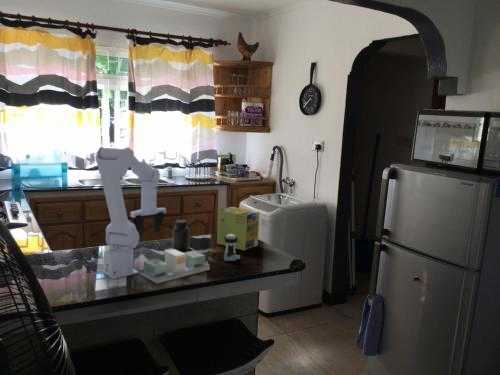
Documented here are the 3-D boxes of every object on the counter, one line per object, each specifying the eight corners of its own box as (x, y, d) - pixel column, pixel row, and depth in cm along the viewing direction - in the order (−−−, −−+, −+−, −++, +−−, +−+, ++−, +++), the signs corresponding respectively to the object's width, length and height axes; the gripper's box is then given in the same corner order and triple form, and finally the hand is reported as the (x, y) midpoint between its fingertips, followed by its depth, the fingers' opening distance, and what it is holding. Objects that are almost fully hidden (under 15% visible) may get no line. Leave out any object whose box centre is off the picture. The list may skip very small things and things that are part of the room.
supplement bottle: (182, 245, 179) (183, 218, 177) (192, 249, 174) (193, 221, 172) (169, 248, 175) (169, 220, 173) (178, 252, 170) (178, 223, 168)
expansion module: (176, 273, 144) (176, 256, 143) (164, 267, 149) (164, 251, 148) (185, 270, 147) (186, 254, 146) (173, 265, 152) (174, 249, 151)
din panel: (156, 283, 136) (157, 269, 136) (139, 274, 144) (139, 260, 143) (209, 269, 152) (209, 256, 151) (191, 261, 159) (191, 249, 159)
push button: (238, 257, 167) (239, 233, 166) (241, 261, 162) (242, 236, 161) (222, 258, 166) (223, 233, 164) (224, 262, 160) (225, 237, 159)
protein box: (245, 251, 176) (247, 215, 174) (216, 243, 185) (217, 209, 182) (258, 245, 185) (260, 211, 183) (230, 239, 193) (231, 206, 191)
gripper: (137, 202, 151) (137, 238, 153) (170, 198, 162) (170, 232, 164) (127, 199, 156) (127, 234, 158) (160, 195, 166) (159, 228, 168)
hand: (148, 233), depth 161 cm, fingers open, 7 cm apart
